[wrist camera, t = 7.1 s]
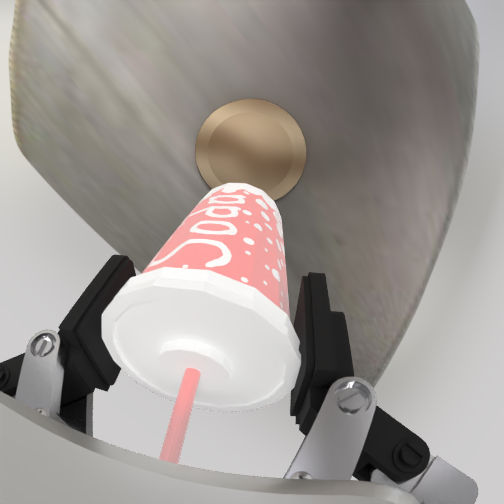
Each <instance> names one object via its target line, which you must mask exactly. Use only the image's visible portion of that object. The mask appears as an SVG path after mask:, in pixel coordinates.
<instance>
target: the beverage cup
mask: <svg viewBox="0 0 504 504" xmlns="http://www.w3.org/2000/svg"><path fill="white" fill-rule="evenodd" d="M102 339H103V341H104V343H105V345H106V347H107V349H108V351H109V353H110V355H111V357H112V358H113V360H114V361H115V362H116V363H117V364H118V365H119V366H120V367H121V368H122V369H123V370H124V371H125V372H126V373H127V374H128V375H129V376H130V377H131V378H132V379H133V380H134V381H135V382H137V383H139V384H140V385H142V386H144V387H145V388H147V389H149V390H151V391H152V392H154V393H155V394H157V395H159V396H161V397H163V398H165V399H168V400H171V401H174V402H175V405H174V409H173V412H172V415H171V419H170V422H169V426H168V429H167V433H166V436H165V440H164V443H163V447H162V451H161V454H160V458H159V459H160V460H164V461H168V462H172V463H176V464H178V462H179V458H180V454H181V450H182V446H183V442H184V438H185V434H186V430H187V426H188V422H189V418H190V415H191V411H192V408H197V409H204V410H210V411H217V412H237V411H250V410H255V409H258V408H261V407H264V406H267V405H270V404H273V403H276V402H278V401H280V400H281V399H282V398H283V397H284V396H285V395H286V394H287V393H289V392H290V391H291V390H292V389H293V388H294V387H295V383H296V380H297V376H298V373H299V369H300V365H301V354H300V352H299V344H300V341H299V339H298V336H297V334H296V332H295V330H294V328H293V326H292V323H291V321H290V313H289V299H288V287H287V275H286V263H285V252H284V241H283V231H282V221H281V216H280V213H279V211H278V209H277V206H276V204H275V202H274V201H273V200H272V199H271V198H270V197H269V196H268V195H267V194H266V193H265V192H264V191H263V190H261V189H258V188H256V187H253V186H251V185H249V184H246V183H226V184H224V185H221V186H219V187H216V188H214V189H212V190H211V191H210V192H209V193H208V194H207V195H206V196H205V197H204V198H203V199H202V200H201V201H200V202H199V203H198V204H197V206H196V207H195V208H194V209H193V210H192V211H191V213H190V214H189V215H188V216H187V217H186V219H185V220H184V221H183V222H182V223H181V225H180V226H179V227H178V228H177V229H176V231H175V232H174V233H173V234H172V236H171V237H170V238H169V239H168V241H167V242H166V243H165V244H164V246H163V247H162V248H161V249H160V251H159V252H158V253H157V254H156V256H155V257H154V258H153V259H152V261H151V262H150V263H149V265H148V266H147V267H146V268H145V270H144V271H143V272H142V274H140V275H137V276H134V277H131V278H130V279H129V280H128V281H127V283H126V284H125V285H124V286H123V287H122V288H121V290H120V291H119V292H118V293H117V294H116V296H115V297H114V299H113V300H112V301H111V303H110V304H109V305H108V306H107V308H106V309H105V310H104V312H103V314H102Z"/></svg>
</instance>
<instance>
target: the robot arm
mask: <svg viewBox="0 0 504 504" xmlns="http://www.w3.org/2000/svg"><path fill="white" fill-rule="evenodd" d="M134 276H136V273H135V269H134V265H133V262H132V261H131V260H129V258H128V256H123V255H113V256H112V257H111V258H110V259H109V260H108V261H107V263H106V264H105V265H104V266H103V268H102V269H101V270H100V271H99V273H98V274H97V275H96V277H95V278H94V279H93V281H92V282H91V283H90V284H89V286H88V287H87V288H86V290H85V291H84V292H83V294H82V295H81V296H80V298H79V299H78V300H77V302H76V303H75V305H74V306H73V307H72V309H71V310H70V312H69V313H68V314H67V316H66V317H65V319H64V320H63V321H62V323H61V324H60V326H59V329H60V330H59V332H58V333H56V332H55V331H52V330H43V331H40V332H38V333H36V334H35V335H34V336H33V337H32V338H31V339H30V341H29V343H28V345H27V349H26V352H25V353H23V354H21V355H18V356H16V357H14V358H11V359H9V360H6V361H4V362H1V363H0V504H474V503H475V501H476V498H477V495H478V487H477V484H476V482H475V481H474V480H473V479H471V478H470V477H468V476H466V475H465V474H464V473H462V472H461V471H459V470H458V469H456V468H455V467H453V466H452V465H450V464H449V463H447V462H446V461H444V460H443V459H441V458H440V457H438V456H436V457H433V456H432V455H430V452H429V448H428V446H427V444H426V443H425V442H424V441H423V440H422V439H421V438H420V437H419V436H417V435H416V434H414V433H413V432H412V431H410V430H409V429H408V428H406V427H405V426H403V425H402V424H401V423H399V422H398V421H396V420H395V419H394V418H392V417H391V416H390V415H389V414H387V413H386V412H385V411H383V410H382V409H381V408H379V407H378V406H377V396H376V392H375V390H374V389H373V387H372V386H371V385H370V384H369V383H368V382H367V381H365V380H363V379H361V378H358V377H354V371H353V364H352V357H351V350H350V344H349V337H348V331H347V325H346V320H345V315H344V313H343V312H332V311H330V304H329V297H328V290H327V283H326V277H325V274H324V273H311V272H309V274H308V276H302V281H301V287H300V293H299V299H298V305H297V310H296V316H295V321H294V327H293V328H294V330H295V332H296V334H297V336H298V339H299V341H300V344H299V352H300V354H301V365H300V369H299V373H298V376H297V380H296V383H295V387H294V388H293V389H292V390H291V406H290V415H291V416H296V424H299V425H300V426H299V430H300V431H301V432H302V433H303V434H304V435H305V438H304V440H303V442H302V444H301V446H300V448H299V450H298V452H297V454H296V456H295V458H294V459H293V461H292V463H291V465H290V467H289V469H288V470H287V472H286V474H285V476H284V477H283V478H269V477H258V476H247V475H239V474H231V473H224V472H217V471H211V470H205V469H200V468H195V467H189V466H185V465H180V464H176V463H172V462H168V461H164V460H160V459H156V458H153V457H149V456H146V455H142V454H139V453H136V452H132V451H129V450H126V449H123V448H120V447H117V446H115V445H112V444H109V443H106V442H103V441H101V440H98V439H96V438H93V424H92V423H93V422H92V416H93V412H92V411H93V392H94V390H95V388H98V389H101V390H104V391H108V389H109V387H110V385H113V384H114V383H115V381H116V379H117V377H118V374H119V372H120V370H121V367H120V366H119V365H118V364H117V363H116V362H115V361H114V360H113V358H112V357H111V355H110V353H109V351H108V349H107V347H106V345H105V343H104V341H103V339H102V314H103V312H104V310H105V309H106V308H107V306H108V305H109V304H110V303H111V301H112V300H113V299H114V297H115V296H116V294H117V293H118V292H119V291H120V290H121V288H122V287H123V286H124V285H125V284H126V283H127V281H128V280H129V279H130V278H131V277H134ZM352 475H353V476H354V477H355V478H357V479H358V480H359V481H356V480H355V481H354V480H350V479H351V477H352Z"/></svg>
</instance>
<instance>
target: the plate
mask: <svg viewBox="0 0 504 504" xmlns="http://www.w3.org/2000/svg"><path fill="white" fill-rule="evenodd" d="M195 154H196V161H197V166H198V168H199V171H200V173H201V175H202V177H203V179H204V180H205V182H206V183H207V184H208V185H209V186H210V188H211V189H214V188H216V187H219V186H221V185H224V184H226V183H246V184H249V185H251V186H253V187H256V188H258V189H261V190H263V191H264V192H265V193H266V194H267V195H268V196H269V197H270V198H271V199H272V200H273V201H275V200H277V199H279V198H281V197H282V196H284V195H285V194H287V193H288V192H289V191H290V190H291V189H292V188H293V187H294V186H295V185H296V183H297V182H298V180H299V179H300V177H301V175H302V173H303V170H304V167H305V163H306V144H305V140H304V136H303V134H302V131H301V129H300V127H299V126H298V124H297V123H296V121H295V120H294V119H293V117H292V116H291V115H290V114H289V113H288V112H286V111H285V110H284V109H282V108H281V107H279V106H277V105H275V104H273V103H270V102H268V101H264V100H259V99H243V100H237V101H234V102H230V103H228V104H226V105H223V106H222V107H220V108H219V109H217V110H216V111H214V112H213V113H212V114H211V115H210V116H209V117H208V118H207V119H206V121H205V122H204V124H203V125H202V127H201V129H200V131H199V134H198V137H197V141H196V148H195Z"/></svg>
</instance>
